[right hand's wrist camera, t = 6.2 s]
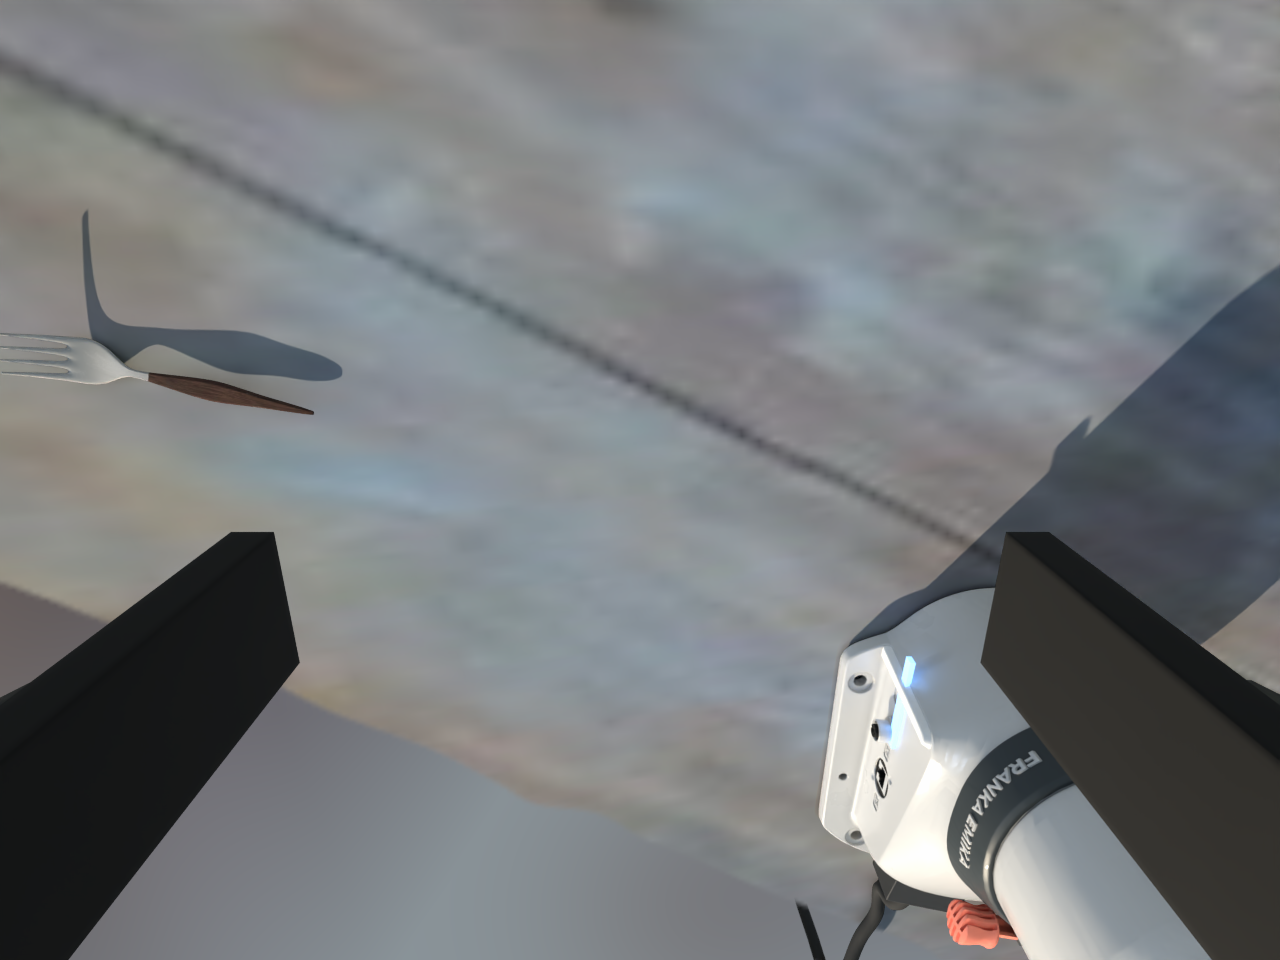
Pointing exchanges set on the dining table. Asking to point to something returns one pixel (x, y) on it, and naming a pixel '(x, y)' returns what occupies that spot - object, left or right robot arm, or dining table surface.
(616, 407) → the dining table surface
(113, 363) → the fork
